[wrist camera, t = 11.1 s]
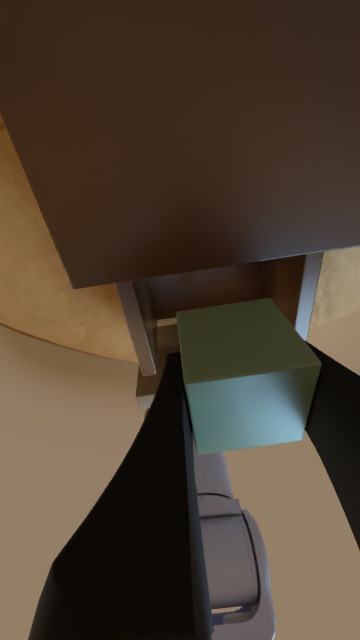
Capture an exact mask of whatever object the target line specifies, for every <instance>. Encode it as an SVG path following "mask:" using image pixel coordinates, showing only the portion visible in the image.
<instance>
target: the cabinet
mask: <svg viewBox="0 0 360 640" xmlns="http://www.w3.org/2000/svg"><path fill="white" fill-rule="evenodd" d="M0 113H1V116H2V118H3V121H4V123H5V126H6V128H7V130H8V133H9V135H10V138H11V140H12V143H13V145H14V147H15V150H16V152H17V155H18V157H19V159H20V162H21V164H22V167H23V169H24V172H25V174H26V176H27V179H28V181H29V184H30V186H31V189H32V191H33V193H34V196H35V198H36V201H37V203H38V205H39V208H40V210H41V213H42V215H43V218H44V220H45V222H46V225H47V227H48V230H49V232H50V235H51V237H52V239H53V242H54V244H55V247H56V249H57V252H58V254H59V256H60V259H61V261H62V264H63V266H64V268H65V271H66V273H67V276H68V278H69V281H70V283H71V285H72V288H73V289H79V288H86V287H93V286H99V285H106V284H112V283H119V282H126V281H132V280H139V279H145V278H152V277H159V276H165V275H172V274H179V273H185V272H192V271H198V270H205V269H212V268H218V267H225V266H231V265H238V264H245V263H251V262H258V261H265V260H271V259H278V258H284V257H291V256H298V255H304V254H311V253H317V252H324V251H331V250H337V249H344V248H351V247H357V246H360V0H0Z"/></svg>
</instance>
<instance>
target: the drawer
mask: <svg viewBox="0 0 360 640" xmlns="http://www.w3.org/2000/svg"><path fill="white" fill-rule="evenodd" d="M323 254H324V252H317V253H311V254H304V255H298V256H291V257H284V258H278V259H271V260H265V261H258V262H251V263H245V264H238V265H231V266H225V267H218V268H212V269H205V270H198V271H192V272H185V273H179V274H172V275H165V276H159V277H152V278H145V279H139V280H132V281H126V282H119V283H114V284H115V287H116V290H117V294H118V297H119V300H120V303H121V307H122V310H123V313H124V316H125V320H126V323H127V326H128V330H129V333H130V336H131V339H132V343H133V346H134V349H135V353H136V356H137V359H138V362H139V369H138V379H137V389H136V399H137V402H138V405H139V408H140V409H146V408H150V406H151V404H152V401H153V399H154V396H155V393H156V390H157V388H158V385H159V382H160V379H161V376H162V372H163V368H164V364H165V359H166V356H167V354H170V353H176V352H180V342H179V333H178V324H174V325H167V326H160V327H157V320H159V319H166V318H173V317H177V315H176V314H177V312H178V311H185V310H191V309H198V308H205V307H211V306H218V305H225V304H231V303H238V302H245V301H251V300H258V299H265V298H271V299H272V300H273V302H274V303H275V304H276V306H277V307H278V308H279V309H280V311H281V312H282V313H283V314H284V316H285V317H286V318H287V320H288V321H289V322H290V323H291V325H292V326H293V327H294V328H295V330H296V331H297V332H298V334H299V335H300V336H301V337H302V339H304V340H305V341H307V335H308V331H309V325H310V320H311V315H312V310H313V305H314V300H315V295H316V290H317V285H318V279H319V274H320V269H321V264H322V259H323Z"/></svg>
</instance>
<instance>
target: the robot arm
mask: <svg viewBox="0 0 360 640" xmlns="http://www.w3.org/2000/svg"><path fill="white" fill-rule="evenodd" d="M303 340H304V339H303ZM304 341H305V340H304ZM305 342H306V344H307V345H308V346H309V348H310V349H311V350H312V351H313V353H314V354H315V355H316V356H317V358H318V359H319V360H320V362H321V369H320V373H319V377H318V381H317V384H316V388H315V392H314V396H313V400H312V404H311V408H310V412H309V416H308V420H307V424H306V428H305V430H306V432H307V434H308V436H309V437H310V439H311V441H312V443H313V444H314V446H315V448H316V450H317V452H318V454H319V456H320V458H321V460H322V462H323V464H324V466H325V469H326V471H327V473H328V475H329V478H330V480H331V482H332V484H333V486H334V489H335V491H336V494H337V496H338V498H339V501H340V503H341V505H342V507H343V510H344V512H345V515H346V517H347V520H348V522H349V525H350V527H351V530H352V532H353V534H354V537H355V540H356V542H357V544H358V547H359V550H360V376H359V375H357V374H356V373H354V372H352V371H351V370H349V369H348V368H346V367H344V366H343V365H341V364H340V363H338V362H337V361H335V360H334V359H332V358H331V357H329V356H327V355H326V354H324V353H323V352H322V351H320V350H318V349H317V348H316V347H314V346H313V345H311V344H309V343H308V342H307V341H305ZM237 606H242V607H241V608H240V609H238V610H235V611H233V612H224V613H214V614H212V613H211V609H219V608H227V607H237ZM275 622H276V619H275V613H274V608H273V602H272V596H271V590H270V572H269V565H268V559H267V555H266V550H265V546H264V542H263V539H262V536H261V532H260V530H259V527H258V525H257V523H256V521H255V519H254V518H253V517H252V516H251V515H250V513H249V512H248V511H247V510H241V508H240V504H239V500H238V499H234V498H233V493H232V489H231V484H230V480H229V475H228V470H227V466H226V461H225V457H224V452H223V451H222V452H215V453H208V454H201V455H198V454H197V453H196V448H195V442H194V437H193V431H192V425H191V420H190V414H189V409H188V403H187V397H186V392H185V386H184V379H183V370H182V361H181V352H176V353H170V354H167V356H166V359H165V364H164V368H163V372H162V376H161V379H160V382H159V385H158V388H157V390H156V393H155V396H154V399H153V401H152V404H151V406H150V408H149V411H148V413H147V415H146V418H145V420H144V422H143V424H142V426H141V428H140V431H139V432H138V434H137V436H136V438H135V440H134V442H133V444H132V446H131V448H130V449H129V451H128V453H127V455H126V456H125V458H124V460H123V462H122V463H121V465H120V467H119V468H118V470H117V472H116V473H115V475H114V477H113V478H112V480H111V481H110V483H109V484H108V486H107V487H106V489H105V490H104V492H103V493H102V495H101V496H100V498H99V499H98V501H97V502H96V504H95V505H94V507H93V508H92V510H91V511H90V513H89V514H88V515H87V517H86V518H85V520H84V521H83V522H82V524H81V525H80V526H79V528H78V529H77V530H76V532H75V533H74V534H73V536H72V537H71V538H70V540H69V541H68V542H67V544H66V545H65V546H64V548H63V549H62V550H61V552H60V553H59V554H58V556H57V557H56V559H55V560H54V562H53V563H52V566H51V568H50V571H49V574H48V576H47V579H46V582H45V585H44V588H43V591H42V593H41V596H40V599H39V602H38V605H37V609H36V613H35V617H34V620H33V624H32V627H31V631H30V635H29V639H28V640H273V639H274V636H275V633H276V629H275Z"/></svg>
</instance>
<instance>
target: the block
mask: <svg viewBox="0 0 360 640" xmlns="http://www.w3.org/2000/svg"><path fill="white" fill-rule="evenodd" d="M176 315H177V324H178V333H179V342H180V352H181V361H182V370H183V379H184V386H185V392H186V397H187V403H188V409H189V414H190V420H191V425H192V431H193V437H194V442H195V448H196V453H197V454H198V455H201V454H208V453H215V452H222V451H230V450H237V449H244V448H250V447H258V446H265V445H272V444H278V443H285V442H293V441H300V440H302V439H303V435H304V431H305V428H306V424H307V420H308V416H309V412H310V408H311V404H312V400H313V396H314V392H315V388H316V384H317V381H318V377H319V373H320V369H321V362H320V360H319V359H318V358H317V356H316V355H315V354H314V353H313V351H312V350H311V349H310V348H309V346H308V345H307V344H306V342H305V341H304V340H303V339H302V337H301V336H300V335H299V334H298V332H297V331H296V330H295V328H294V327H293V326H292V325H291V323H290V322H289V321H288V320H287V318H286V317H285V316H284V314H283V313H282V312H281V311H280V309H279V308H278V307H277V306H276V304H275V303H274V302H273V300H272V299H271V298H265V299H258V300H251V301H245V302H238V303H231V304H225V305H218V306H211V307H205V308H198V309H191V310H185V311H178V312H177V314H176Z"/></svg>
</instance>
